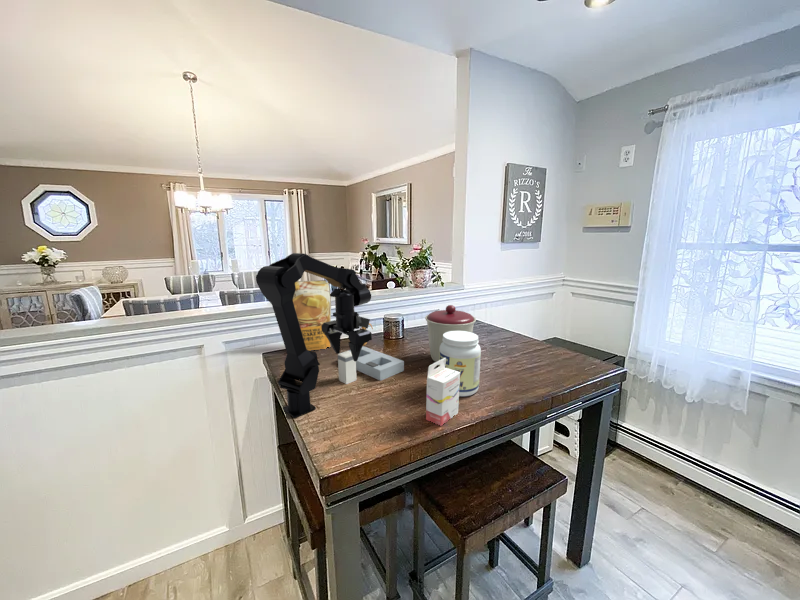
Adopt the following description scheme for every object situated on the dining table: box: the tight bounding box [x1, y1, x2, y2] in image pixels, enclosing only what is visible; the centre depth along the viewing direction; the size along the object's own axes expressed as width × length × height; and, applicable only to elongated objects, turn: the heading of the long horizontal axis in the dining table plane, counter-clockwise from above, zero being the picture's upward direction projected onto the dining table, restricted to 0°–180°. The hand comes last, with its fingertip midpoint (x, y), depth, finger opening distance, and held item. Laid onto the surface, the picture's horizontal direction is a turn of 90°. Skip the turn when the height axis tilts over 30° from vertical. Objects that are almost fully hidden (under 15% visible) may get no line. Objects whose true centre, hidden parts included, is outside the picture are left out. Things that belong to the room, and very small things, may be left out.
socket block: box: [341, 346, 405, 382], centre depth 117 cm, size 22×11×4 cm, turn 46°
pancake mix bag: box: [293, 279, 332, 351], centre depth 132 cm, size 7×19×28 cm, turn 110°
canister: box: [424, 304, 477, 363], centre depth 121 cm, size 18×18×21 cm
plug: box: [337, 350, 357, 385], centre depth 106 cm, size 4×4×9 cm
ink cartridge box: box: [425, 358, 460, 427], centre depth 84 cm, size 9×5×15 cm, turn 141°
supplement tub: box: [438, 331, 482, 397], centre depth 100 cm, size 12×12×17 cm
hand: (346, 357), depth 105 cm, fingers open, 9 cm apart
